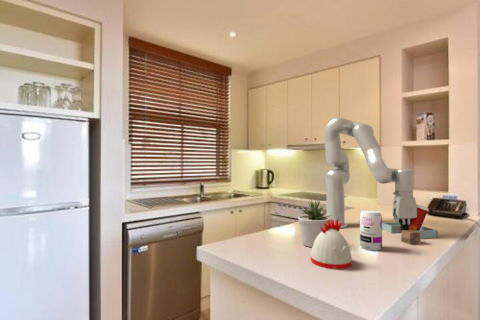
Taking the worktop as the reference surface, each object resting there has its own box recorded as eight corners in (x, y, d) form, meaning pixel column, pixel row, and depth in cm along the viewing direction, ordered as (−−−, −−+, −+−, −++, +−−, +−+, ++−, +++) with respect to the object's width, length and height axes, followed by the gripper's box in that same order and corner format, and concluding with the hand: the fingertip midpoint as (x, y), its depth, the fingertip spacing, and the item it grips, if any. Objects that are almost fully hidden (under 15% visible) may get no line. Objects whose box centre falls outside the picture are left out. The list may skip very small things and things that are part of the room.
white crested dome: (360, 266, 94) (360, 222, 94) (325, 271, 90) (325, 225, 90) (335, 253, 107) (335, 215, 107) (303, 257, 103) (303, 217, 103)
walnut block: (410, 244, 119) (409, 233, 119) (401, 241, 124) (401, 230, 124) (420, 244, 120) (420, 232, 120) (411, 241, 125) (411, 229, 125)
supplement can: (380, 246, 117) (380, 210, 117) (383, 252, 109) (383, 213, 109) (359, 244, 120) (359, 209, 120) (361, 250, 112) (360, 212, 112)
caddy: (409, 239, 127) (409, 231, 127) (381, 229, 146) (381, 222, 146) (437, 237, 130) (437, 230, 130) (406, 228, 149) (406, 221, 149)
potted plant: (336, 249, 113) (336, 199, 113) (303, 249, 112) (302, 200, 112) (324, 240, 125) (324, 196, 126) (294, 241, 125) (294, 196, 125)
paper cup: (412, 233, 139) (422, 207, 139) (423, 238, 131) (433, 210, 131) (398, 228, 138) (407, 201, 139) (408, 232, 131) (418, 204, 131)
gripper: (395, 195, 129) (396, 235, 129) (424, 194, 131) (424, 233, 131) (384, 193, 136) (385, 231, 136) (411, 193, 138) (412, 230, 138)
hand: (404, 232), depth 133 cm, fingers closed
